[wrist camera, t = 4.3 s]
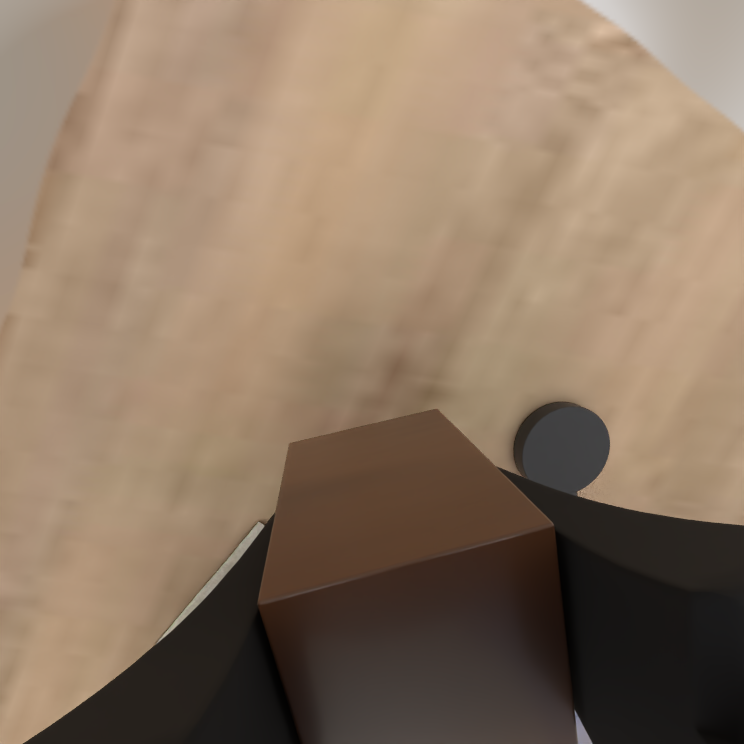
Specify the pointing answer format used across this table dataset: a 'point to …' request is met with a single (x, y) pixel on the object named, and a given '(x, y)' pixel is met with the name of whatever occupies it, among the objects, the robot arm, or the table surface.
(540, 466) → the serving spoon
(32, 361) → the table surface
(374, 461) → the walnut block
